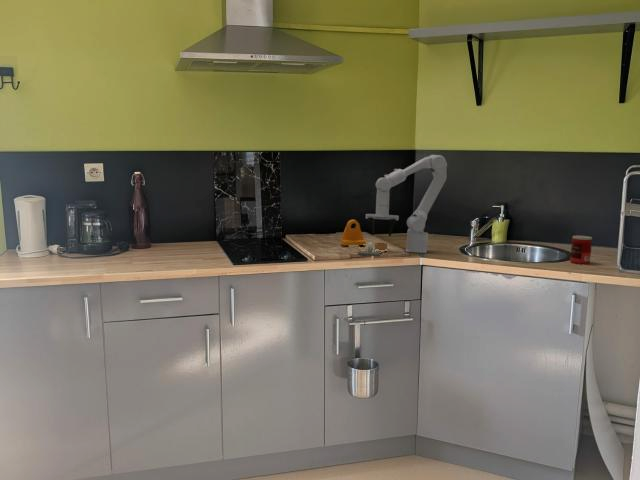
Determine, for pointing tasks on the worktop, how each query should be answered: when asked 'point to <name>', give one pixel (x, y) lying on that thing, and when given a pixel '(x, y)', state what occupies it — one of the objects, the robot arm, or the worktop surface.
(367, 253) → the post block
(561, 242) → the worktop surface
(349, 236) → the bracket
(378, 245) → the ring
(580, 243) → the canned food
